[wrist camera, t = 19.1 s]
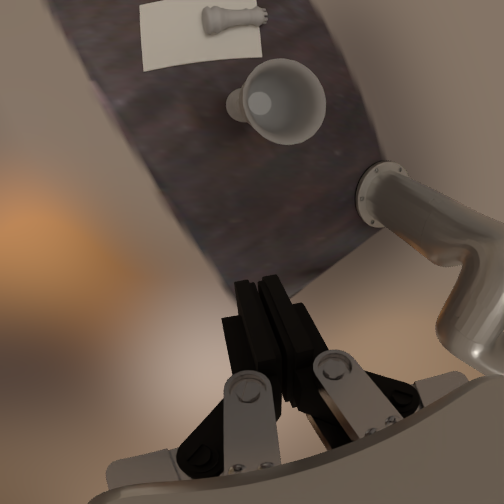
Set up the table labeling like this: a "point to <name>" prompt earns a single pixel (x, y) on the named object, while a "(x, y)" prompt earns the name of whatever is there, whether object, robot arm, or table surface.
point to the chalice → (280, 102)
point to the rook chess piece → (230, 18)
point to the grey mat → (193, 34)
